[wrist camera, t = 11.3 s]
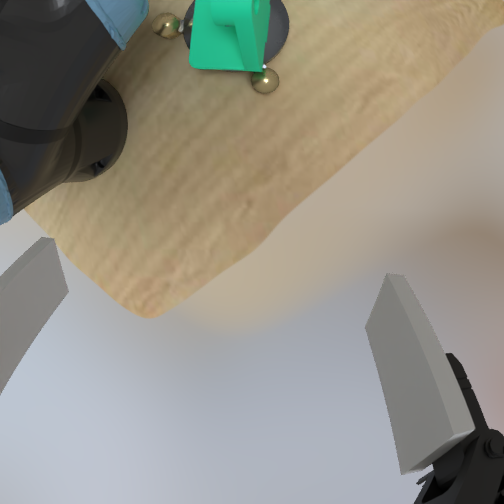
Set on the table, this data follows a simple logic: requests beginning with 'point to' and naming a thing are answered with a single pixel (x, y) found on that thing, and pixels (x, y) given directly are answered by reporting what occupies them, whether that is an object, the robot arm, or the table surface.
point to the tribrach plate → (277, 27)
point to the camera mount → (229, 34)
